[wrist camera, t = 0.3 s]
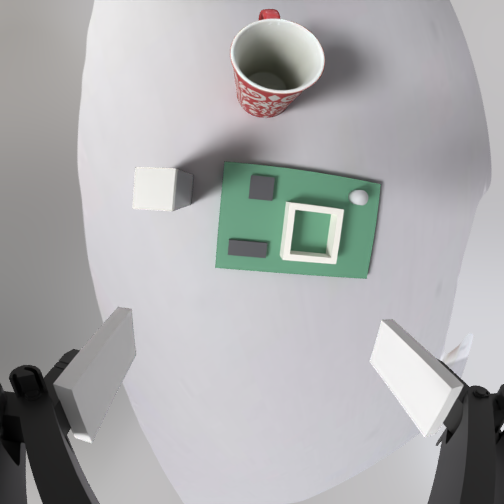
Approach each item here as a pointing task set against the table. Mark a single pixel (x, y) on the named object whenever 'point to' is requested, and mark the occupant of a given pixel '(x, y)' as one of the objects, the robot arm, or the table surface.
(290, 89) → the mug
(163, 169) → the plug
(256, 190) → the board
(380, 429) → the table surface
